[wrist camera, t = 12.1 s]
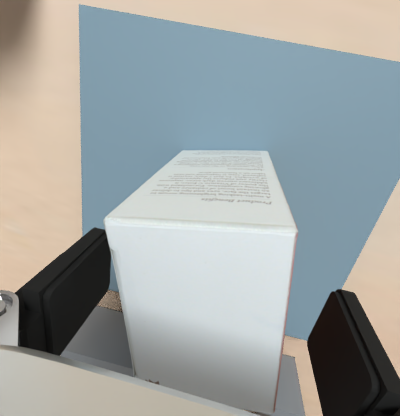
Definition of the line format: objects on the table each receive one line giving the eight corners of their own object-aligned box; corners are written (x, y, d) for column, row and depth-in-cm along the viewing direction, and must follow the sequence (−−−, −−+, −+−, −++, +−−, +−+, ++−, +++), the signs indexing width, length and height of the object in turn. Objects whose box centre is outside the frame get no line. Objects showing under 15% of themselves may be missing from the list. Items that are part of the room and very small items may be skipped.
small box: (261, 258, 19) (276, 421, 10) (186, 253, 20) (133, 398, 11) (270, 147, 16) (306, 230, 7) (180, 147, 17) (97, 219, 7)
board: (435, 73, 15) (455, 71, 13) (309, 327, 23) (313, 342, 22) (92, 11, 16) (78, 4, 15) (92, 272, 24) (83, 283, 23)
